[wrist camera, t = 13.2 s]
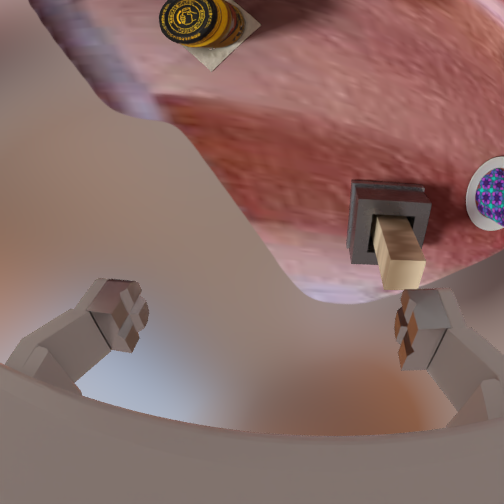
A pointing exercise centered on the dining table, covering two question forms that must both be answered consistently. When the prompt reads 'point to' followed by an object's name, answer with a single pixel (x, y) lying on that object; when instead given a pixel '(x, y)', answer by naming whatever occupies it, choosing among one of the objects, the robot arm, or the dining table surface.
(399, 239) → the wooden peg
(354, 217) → the socket holder
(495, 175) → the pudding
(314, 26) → the dining table surface
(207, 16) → the condiment
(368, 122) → the dining table surface
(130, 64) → the dining table surface
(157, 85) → the dining table surface
